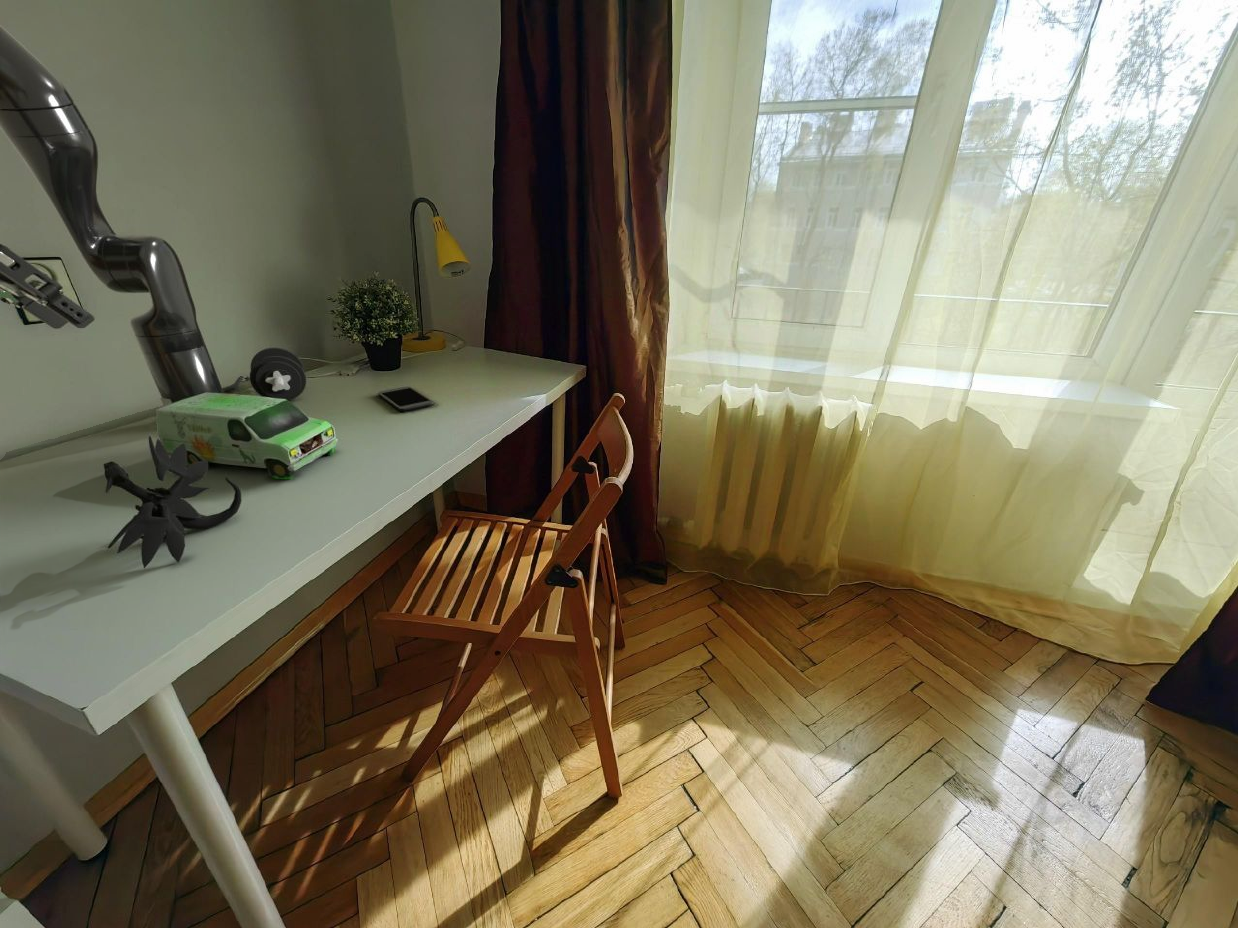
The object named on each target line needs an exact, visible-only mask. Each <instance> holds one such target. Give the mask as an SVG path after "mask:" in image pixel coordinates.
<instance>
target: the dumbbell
mask: <svg viewBox="0 0 1238 928" xmlns="http://www.w3.org/2000/svg"><path fill="white" fill-rule="evenodd" d="M249 367H250V369H249V370H250V372H249V378H250V380H249V383H250V385H251V387H252V388H253V390H254V391H255V392H256V393H257V394H258V395H259V396H260V397H269V398H277V399H286V400H288V401H289V402H290V401H292V400H294V399H297V398H298V397H299V396H301V394H303V392H304V390H305V389H306V386H307V375H306V373H305V369H304V365H303V362H302V361H301V359H300V358H299V357H298V356H297V355H296V354H295V353H293V352H292V351H290V350H288V349H286V348H281V347H268V348H267V347H266V348H264V349H261V350H260V351H258V352H257V353H256V354H255V355H254V356H253V357H252V359H251V362H250V366H249Z"/></svg>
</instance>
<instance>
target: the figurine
mask: <svg viewBox="0 0 1238 928" xmlns="http://www.w3.org/2000/svg"><path fill="white" fill-rule="evenodd" d="M148 446H149V451H150V455H151V458H152V462H153V465H154V468H155V469H154V470H155V474H156V478H157V480H158V481H160V482H164V480H165V477H166V473H167V472H169V473H170V474H173V475H175V476H178V478H177V479H176V480H175V481H174V482H173V484H172V485H171V486H170V487H168V488H165V487H155V488H150V487H146V488H144V487H142V486H139V485H138V484H136V483H134V481H133V480H132V479H131V478H130V475H129V473H128V472H127V471H126V470H125V469H124V468H123V467H121V466H120V465H119V464H118V463H117V462H116V461H113V460H110V461H108V462H105V463H103V469H104V477H105V480H106V487H105V490H104V494H107V493H108V492H109V491H110V490H111V489H112V487H117V488H119V489H122V490H123V491H126V492H127V493H129V494H130V495H132V496H134V497H135V498H138V499H139V500H140V501H141V505H139V504H135V506H134V508H135V510H136V511H138V512H137V514H135V515H133V517H132V518H131V519H130V520H129V521H128V522H127V523H126V524H125V525H124V526H123V528H121V530H120V531H119V532H118V533H117V534H116V535H115V536H114V538H113V539H112V540H111V542H110V543H109V545H108V547H107V548H108V549H111V548H112V547H113V546H114V545H116V543H117V542H118V541H119V540H120V539H121V541H120V543H119V546H118V549H117V554H120V553H122V552H123V551H125V550H126V549H128V548H130V547H131V546H132V545H134V544H135V543H136V542H138V541H139V540H140V539H141V548H140V555H141V563H142V566H143V569H145V568H146V567H147V566H148V565H149V564H150V563H151V562H152V561H153V559H154V557H155V555H156V554H157V552H158V550H159V549H160V547H161V545H162V544H163V541H165V544H166V547H167V550H168V552H169V554H170V555H171V556H172V558H173V559H174V560H175V561H176V562H177V563H180V561H181V558H182V557H183V555H184V551H185V547H186V541H185V535H186V534H188V533H187V531H186V529H187V530H207V529H209V528H214V527H216V526H218V525H221V524H223V523H225V522H226V521H228V520H230V519H231V518H232V517H234V516H235V515H236V514H237V513H238V511H239V509H240V507H241V504H242V489H241V488H240V487H239V486H238V485H237V484H236V483H235V482H233V481H232V480H230V479H229V478H228V477H225V481H226V482H227V484H229V485H230V486H231V487H232V489H233V491H234V495H233V500H232V501H231V504H230V505H229V507H228V508H226V509H225V510H222V511H221V512H217V513H214V514H209V515H206V514H201V513H199V512H198V511H197V509H196V508H194V506H193V505H192V504H190V503H189V502H188V501H187V500H185V499H190V498H191V499H192V498H194V497H196V496H199V495H200V494H202V493H203V492H206V491H207V490H209V489H210V487H205V486H203V487H202V486H193V485H192V484H194V483H196V482H198V481H200V480H202V479H204V477H205V475H206V474H207V472H208V469H209V467H208V460H207V461H198V462H195V463H193V464H191V465H189V466H188V465H187V450H186V447H185V444H184V443H183V444H182V445H180V446H178V447H177V448H176V449H175V450H174V451H173V453H172V455H170V457H169V455H168V453H167V451H166V449H165V447H164V446H163V444H162V442H161V441H160V439H159V438H157V440H156V442H155V444H154V442H153V438H152V436H151V435H150V436H148ZM184 534H185V535H184Z"/></svg>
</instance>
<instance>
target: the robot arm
mask: <svg viewBox="0 0 1238 928" xmlns="http://www.w3.org/2000/svg"><path fill="white" fill-rule="evenodd" d="M0 130H1V131H2V132H3V134H4V136H5V137H6V139H8V141H9V142H10V144H11V145H12V146H13V148H14V149H15V151H16V152H17V153H18V154H19V156H20V157H21V159H22V160H23V162H24V163H25V165H26V166H27V167H28V169H29V170H30V172H31V174H32V175H33V177H34V178H35V179H36V181H37V183H38V184H39V186H40V187H41V189H42V191H43V192H44V193H45V195H46V197H47V198H48V200H49V202H51V204H52V206H53V207H54V209H55V211H56V213H57V214H58V216H59V218H60V220H61V221H62V223H63V225H64V227H65V228H66V230H67V232H68V234H69V236H70V237H71V239H72V242H73V243H74V245H75V246H76V248H77V250H78V252H79V253H80V256H81V257H82V259H83V260H84V262H85V264H86V265H87V267H88V268H89V270H90V271H91V273H92V274H93V275H94V276H95V277H96V278H97V280H98V281H99V282H100V283H101V284H102V285H103V286H105V287H106V288H108V289H110V290H112V291H113V292H117V293H122V294H123V293H124V294H149V295H150V299H151V306H150V307H149V308H148V310H146V311H144V312H141V313H139V314H136V315H133V316H132V317H130V318H129V320H128V323H129V327H130V329H131V331H132V333H133V335H134V337H135V341H136V343H137V344H138V347H139V349H140V351H141V354H142V356H143V358H144V360H145V362H146V365H147V367H148V369H149V372H150V374H151V376H152V379H153V381H154V383H155V386H156V388H157V390H158V393H159V395H160V400H161V403H162V405H163V406H167V405H169V404H172V403H175V402H178V401H180V400H183V399H187V398H190V397H193V396H197V395H200V394H203V393H223V394H228V393H227V392H230V391H233V390H235V389H236V388H238V387H239V385H240V384H241V383H242V382H243V381H244V380H245V381H250V376H249V375H246V376H247V377H246V378H244V377H243V376H240V375H239V376H240V377H239V376H238V378H237V379H236V381H235V382H234V383H233V384H231V385H229V386H227V387H223V388H222V385H221V382H220V379H219V377H218V373H217V371H216V369H215V366H214V364H213V360H212V358H211V355H210V353H209V350H208V348H207V347H208V346H207V345H206V343H205V342H206V341H205V339H204V337H203V335H202V331H201V329H200V326H199V323H198V320H197V312H196V311H197V310H196V306H195V303H194V300H193V297H192V294H191V291H190V288H189V284H188V280H187V278H186V274H185V271H184V268H183V265H182V262H181V261H180V258H179V256H178V254H177V252H176V251H175V249H174V248H173V247H172V245H171V244H170V243H168V241H166V240H165V239H163V238H162V237H159V236H157V235H150V234H149V235H148V234H147V235H146V234H144V235H143V234H116V232H115V231H114V230H113V228H112V226H111V225H110V224H109V222H108V220H107V219H106V217H105V215H104V213H103V210H102V208H101V206H100V204H99V203H100V202H99V200H98V194H97V193H98V192H97V183H98V182H97V181H98V171H99V151H98V149H99V148H98V144H97V141H96V138H95V135H94V134H93V132H92V131H91V128H90V127H89V125H88V124H87V122H86V120H85V117H83V115H82V113H81V111H80V109H79V108H78V106H77V104H76V103H75V101H74V99H73V97H72V96H71V95H70V93H69V91H68V90H67V89H66V87H65V86H64V85H63V84H62V82H61V81H60V80H59V79H58V78H57V76H56V75H54V74H53V72H52V71H51V70H50V69H49V68H48V67H46V65H45V64H43V63H42V62H41V61H40V60H39V59H38V58H37V57H36V56H35V55H34V54H33V53H32V52H31V51H29V49H27V48H26V47H25V46H24V45H23V44H22V43H21V42H20V41H19V40H17V38H15V37H14V36H13V35H12V34H11V33H10V32H9V31H8V30H7V29H6V28H4V27H3V25H1V24H0ZM37 287H38V288H37ZM63 289H64V287H63V286H62V285H61V283H59V282H58V281H55V280H54V279H53V278H51V277H50V276H49V275H47V274H45V273H44V272H43V271H41V270H40V269H38V268H37V267H36V266H35V265H32V263H29V261H27V260H26V259H24V258H22V257H21V256H20V255H19V254H17V253H15V252H14V251H12V250H11V248H9V247H8V246H6V245H4V244H1V243H0V302H2V303H5V304H7V305H12V306H13V307H16V308H19V309H20V308H22V309H23V310H24V311H25V312H27V313H28V314H30V315H32V316H34V317H35V318H37V319H38V320H39V321H41V322H43V324H46V325H47V326H49V327H50V328H52V329H55V330H56V329H57V330H58V329H61V328H63V327H64V326H65V325H67V324H68V323H69V324H71V325H72V326H74V327H75V328H77V329H84V328H86V327H88V326H89V325H90V324H92V323H93V322H94V321H95V316H94V315H93V314H92V313H91V312H89V311H87V310H86V309H85V308H83V307H82V306H80V305H79V304H78V303H76V302H75V301H73V300H72V299H71V298H69V297H67V295H65V294H64V291H63ZM243 378H244V379H243Z"/></svg>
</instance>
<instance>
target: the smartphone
mask: <svg viewBox="0 0 1238 928" xmlns="http://www.w3.org/2000/svg"><path fill="white" fill-rule="evenodd" d="M377 394H378V396H379V397H381V398H382V399H383V400H385V402H387V403H389V404H390V405H391V406H393V408H395V409H397V410H398V411H400V412H408V411H409V412H410V411H413V410H419V409H423V408H427V407H431V406H434V405H435V402H434V400H432V399H431V398H429V397H427V396H425V395H424V394H422V393H421V392H419V391H417V390H416V389H415V388H412V387H411V386H402V387H395V388H391V389H385V390H380V391H378V393H377Z"/></svg>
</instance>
